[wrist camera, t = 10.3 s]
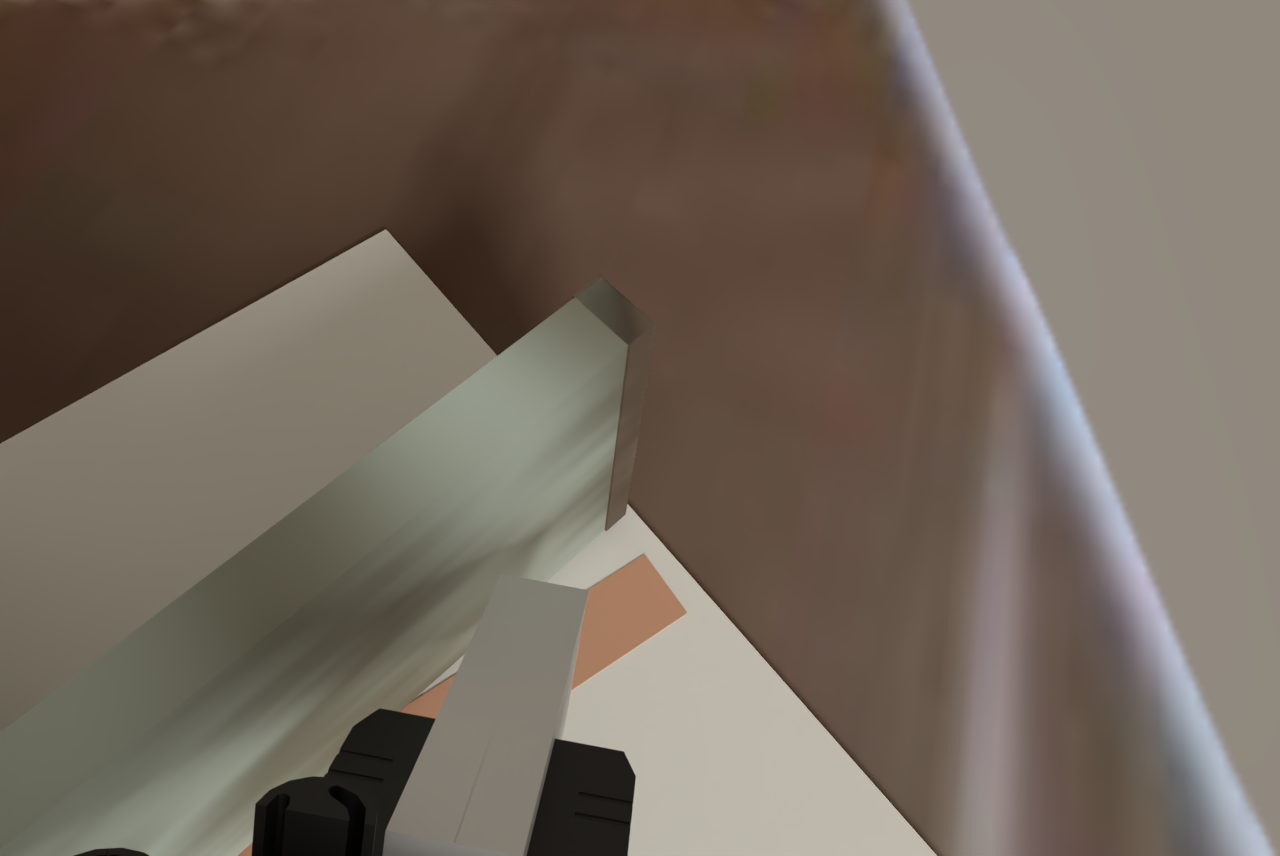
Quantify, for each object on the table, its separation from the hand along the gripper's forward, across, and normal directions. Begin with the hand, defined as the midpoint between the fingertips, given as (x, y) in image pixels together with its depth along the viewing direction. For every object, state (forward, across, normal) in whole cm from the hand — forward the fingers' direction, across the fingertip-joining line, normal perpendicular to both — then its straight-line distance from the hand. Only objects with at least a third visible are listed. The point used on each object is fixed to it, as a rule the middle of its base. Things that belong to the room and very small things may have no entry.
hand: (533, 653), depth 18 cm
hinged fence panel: (+2, -4, -3) cm, 5 cm away
